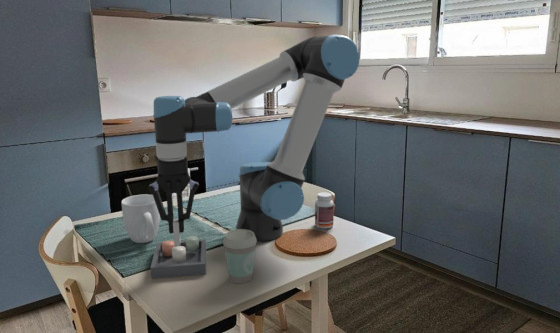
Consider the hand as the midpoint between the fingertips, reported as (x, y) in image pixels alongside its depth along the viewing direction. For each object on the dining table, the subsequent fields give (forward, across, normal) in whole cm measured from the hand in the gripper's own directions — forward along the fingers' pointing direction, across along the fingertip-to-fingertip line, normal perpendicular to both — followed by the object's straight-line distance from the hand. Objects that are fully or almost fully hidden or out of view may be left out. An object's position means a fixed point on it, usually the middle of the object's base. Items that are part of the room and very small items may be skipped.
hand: (177, 243), depth 119 cm
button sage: (+5, -3, -6) cm, 9 cm away
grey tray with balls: (+7, 0, -3) cm, 8 cm away
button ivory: (+5, 0, 0) cm, 5 cm away
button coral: (+6, +3, -6) cm, 9 cm away
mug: (+7, +12, -21) cm, 25 cm away
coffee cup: (+7, -16, +8) cm, 20 cm away
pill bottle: (+7, -46, -23) cm, 52 cm away
